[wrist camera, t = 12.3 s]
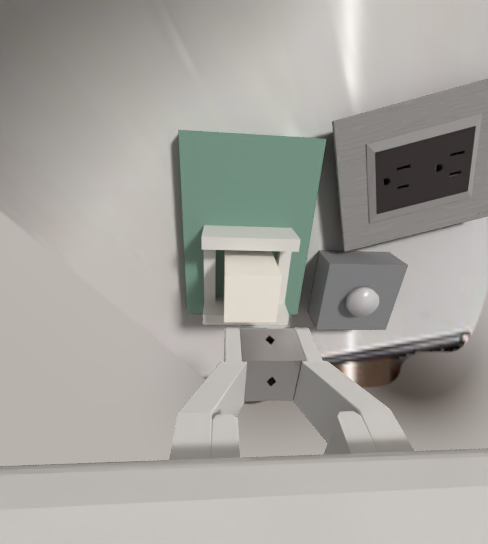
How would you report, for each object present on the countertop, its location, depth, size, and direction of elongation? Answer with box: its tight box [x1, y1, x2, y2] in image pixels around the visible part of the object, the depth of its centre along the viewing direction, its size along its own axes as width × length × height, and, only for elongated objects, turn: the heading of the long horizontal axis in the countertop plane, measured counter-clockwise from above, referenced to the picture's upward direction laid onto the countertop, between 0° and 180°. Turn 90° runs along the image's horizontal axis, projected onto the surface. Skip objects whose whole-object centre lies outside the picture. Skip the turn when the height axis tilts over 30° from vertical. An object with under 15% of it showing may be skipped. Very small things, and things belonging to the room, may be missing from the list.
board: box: [178, 130, 326, 325], centre depth 23 cm, size 16×11×4 cm
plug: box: [224, 250, 282, 322], centre depth 22 cm, size 4×4×5 cm
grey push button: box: [308, 251, 408, 330], centre depth 26 cm, size 7×7×4 cm
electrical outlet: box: [332, 79, 488, 252], centre depth 23 cm, size 13×10×2 cm
